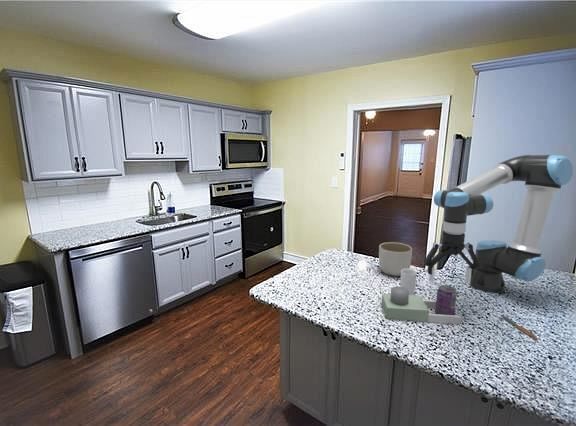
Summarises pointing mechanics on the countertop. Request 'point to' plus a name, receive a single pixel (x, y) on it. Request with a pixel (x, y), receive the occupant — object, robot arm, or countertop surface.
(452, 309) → the beverage can
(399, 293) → the stepped platform base
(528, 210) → the robot arm
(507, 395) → the countertop surface
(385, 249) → the planter
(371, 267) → the countertop surface
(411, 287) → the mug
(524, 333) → the knife
